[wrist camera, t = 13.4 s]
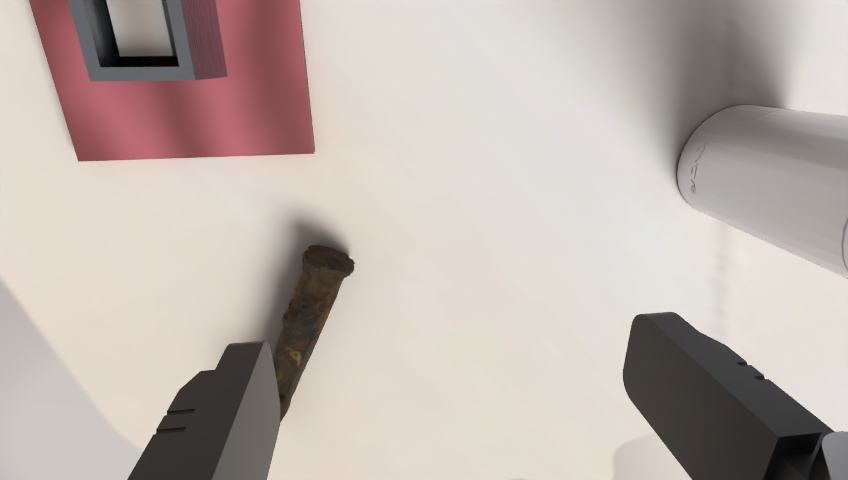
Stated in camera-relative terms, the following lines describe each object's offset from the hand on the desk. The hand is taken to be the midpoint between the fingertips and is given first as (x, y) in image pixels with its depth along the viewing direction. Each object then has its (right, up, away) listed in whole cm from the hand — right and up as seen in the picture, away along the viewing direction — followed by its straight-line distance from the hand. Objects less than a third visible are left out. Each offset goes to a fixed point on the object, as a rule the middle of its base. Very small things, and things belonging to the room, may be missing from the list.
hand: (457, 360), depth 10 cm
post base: (-17, +16, +20) cm, 31 cm away
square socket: (-17, +16, +19) cm, 30 cm away
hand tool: (-11, -6, +30) cm, 32 cm away
